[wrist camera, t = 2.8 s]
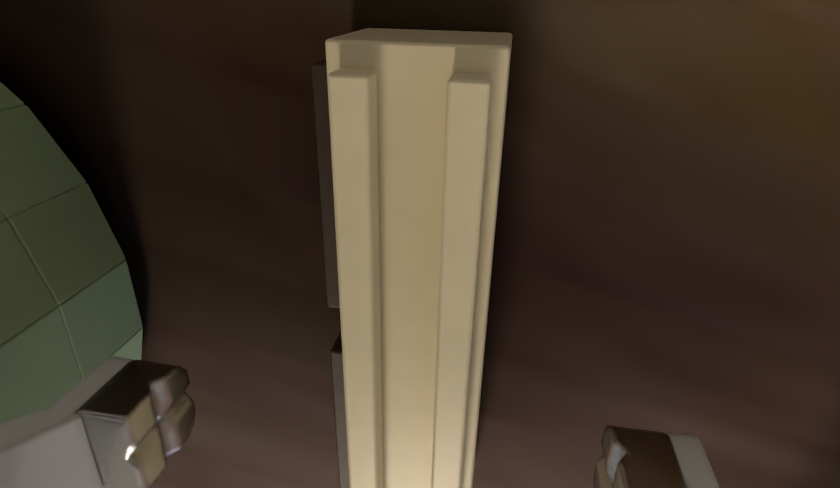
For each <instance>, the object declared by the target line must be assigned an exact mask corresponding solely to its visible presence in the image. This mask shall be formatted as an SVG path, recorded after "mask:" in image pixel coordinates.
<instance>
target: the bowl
mask: <svg viewBox="0 0 840 488" xmlns="http://www.w3.org/2000/svg"><path fill="white" fill-rule="evenodd" d="M142 326H143V325H142V321H141V317H140V313H139V309H138V305H137V301H136V297H135V293H134V289H133V285H132V281H131V277H130V273H129V269H128V265H127V261H126V260H125V256H124V254H123V252H122V250H121V248H120V246H119V244H118V242H117V240H116V238H115V236H114V234H113V232H112V230H111V228H110V226H109V224H108V222H107V220H106V218H105V216H104V214H103V212H102V210H101V209H100V207H99V205H98V203H97V201H96V199H95V197H94V195H93V193H92V191H91V189H90V187H89V185H88V184H87V183H86V180H85V179H84V178H83V177H82V175H81V174H80V173H79V171H78V170H77V169H76V168H75V166H74V165H73V164H72V162H71V161H70V160H69V159H68V157H67V156H66V155H65V153H64V152H63V151H62V150H61V148H60V147H59V146H58V144H57V143H56V142H55V141H54V139H53V138H52V137H51V135H50V134H49V133H48V132H47V130H46V129H45V128H44V126H43V125H42V124H41V123H40V121H39V120H38V119H37V117H36V116H35V115H34V114H33V112H32V111H31V110H30V108H29V107H28V106H27V105H24V102H23V101H22V100H21V99H19V98H18V97H17V96H16V95H15V94H14V93H13V92H12V91H11V90H9V89H8V88H7V87H6V86H5V85H4V84H3V83H2V82H1V81H0V425H1V424H4V423H6V422H9V421H11V420H14V419H16V418H19V417H21V416H24V415H26V414H28V413H31V412H33V411H36V410H38V409H46V410H48V409H49V408H50V407H51V406H52V405H54V404H55V403H56V402H57V401H58V400H59V399H60V398H62V397H63V396H64V395H65V394H66V393H67V392H68V391H70V390H71V389H72V388H73V387H74V386H75V385H76V384H78V383H79V382H80V381H81V380H82V379H83V378H85V377H86V376H87V375H88V374H89V373H90V372H91V371H93V370H94V369H95V368H96V367H97V366H98V365H99V364H101V363H102V362H103V361H104V360H105V359H107V358H111V357H114V356H116V357H121V358H127V359H133V360H141V359H142V338H143V327H142Z"/></svg>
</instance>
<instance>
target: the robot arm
mask: <svg viewBox="0 0 840 488" xmlns="http://www.w3.org/2000/svg"><path fill="white" fill-rule="evenodd" d="M189 384H190V381H189V377H188V373H187V370H186V369H184V368H182V367H180V366H173V365H167V364H161V363H155V362H149V361H143V360H133V359H127V358H121V357H116V356H114V357H111V358H107V359H105V360H104V361H103V362H102V363H101V364H99V365H98V366H97V367H96V368H95V369H94V370H93V371H91V372H90V373H89V374H88V375H87V376H86V377H85V378H83V379H82V380H81V381H80V382H79V383H78V384H76V385H75V386H74V387H73V388H72V389H71V390H70V391H68V392H67V393H66V394H65V395H64V396H63V397H62V398H60V399H59V400H58V401H57V402H56V403H55V404H54V405H52V406H51V407H50V408H49V409H48V410H46V409H38V410H36V411H33V412H31V413H28V414H26V415H24V416H21V417H19V418H16V419H14V420H11V421H9V422H6V423H4V424H1V425H0V488H151V487H152V486H153V485H154V483H155V482H156V481H157V479H158V478H159V477H160V475H161V474H162V473H163V471H164V470H165V469H166V467H167V456H168V455H170V454H172V453H173V452H175V451H177V450H179V449H181V447H182V446H183V445H184V443H185V442H186V440H187V439H188V437H189V436H190V433H191V430H192V427H193V425H194V421H195V406H194V401H193V400H192V399H191V397H190V396H189V395H188V394H187V393H186V392H185V390H186V388H187V387H188V385H189ZM601 443H602V449H603V456H602V457H600V458H599V459H598V460H597V463H596V468H595V473H594V485H593V488H720V487H719V484H718V482H717V480H716V477H715V475H714V472H713V470H712V467H711V465H710V463H709V460H708V458H707V455H706V453H705V451H704V448H703V446H702V443H701V441H700V440H699V439H698V438H697V437H696V436H692V435H683V434H675V433H667V432H666V433H663V432H655V431H648V430H640V429H632V428H625V427H617V426H609V425H607V426H606V428H605V430H604V432H603V436H602V440H601Z"/></svg>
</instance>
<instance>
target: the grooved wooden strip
mask: <svg viewBox="0 0 840 488" xmlns="http://www.w3.org/2000/svg"><path fill="white" fill-rule="evenodd" d="M325 47H326V59H325V60H322V61H319V62H317V63H314V64H312V66H311V68H312V83H313V98H314V113H315V128H316V143H317V158H318V173H319V188H320V203H321V218H322V233H323V248H324V263H325V278H326V293H327V306H328V307H335V308H340V321H341V332H340V334H339V336H338V338H337V340H336V342H335V344H334V345H333V347H332V349H331V351H330V353H331V368H332V383H333V398H334V413H335V428H336V443H337V458H338V473H339V488H472V485H473V475H474V464H475V453H476V442H477V431H478V419H479V408H480V397H481V386H482V374H483V363H484V352H485V340H486V329H487V318H488V306H489V295H490V284H491V273H492V261H493V250H494V239H495V227H496V216H497V205H498V194H499V182H500V171H501V160H502V148H503V137H504V126H505V114H506V103H507V92H508V81H509V69H510V58H511V47H512V34H511V33H504V32H474V31H444V30H414V29H384V28H366V29H362V30H358V31H355V32H351V33H348V34H344V35H340V36H337V37H333V38H330V39H327V40H326V42H325Z"/></svg>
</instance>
